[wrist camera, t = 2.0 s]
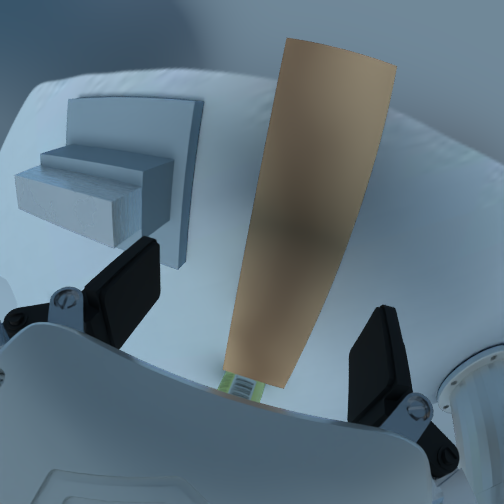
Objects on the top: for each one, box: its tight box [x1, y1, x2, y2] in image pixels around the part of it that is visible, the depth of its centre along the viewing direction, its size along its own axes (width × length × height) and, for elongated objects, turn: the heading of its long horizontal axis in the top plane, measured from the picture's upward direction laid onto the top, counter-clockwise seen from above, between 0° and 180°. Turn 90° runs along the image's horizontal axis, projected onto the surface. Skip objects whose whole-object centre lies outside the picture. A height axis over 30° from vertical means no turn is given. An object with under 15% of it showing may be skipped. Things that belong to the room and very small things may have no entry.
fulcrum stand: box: [15, 97, 204, 270], centre depth 19 cm, size 14×14×8 cm
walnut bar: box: [223, 38, 397, 389], centre depth 18 cm, size 5×22×7 cm, turn 170°
